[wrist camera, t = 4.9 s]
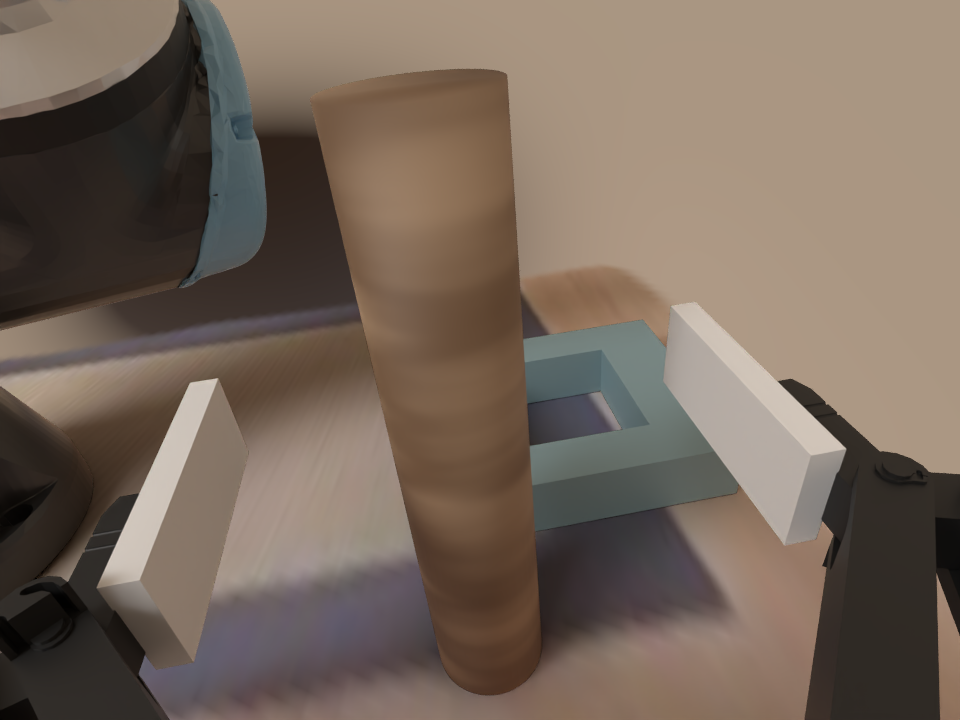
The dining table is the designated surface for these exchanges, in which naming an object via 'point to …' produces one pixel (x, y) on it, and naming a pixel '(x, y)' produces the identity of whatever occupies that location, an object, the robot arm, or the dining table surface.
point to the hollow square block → (617, 454)
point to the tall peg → (446, 345)
